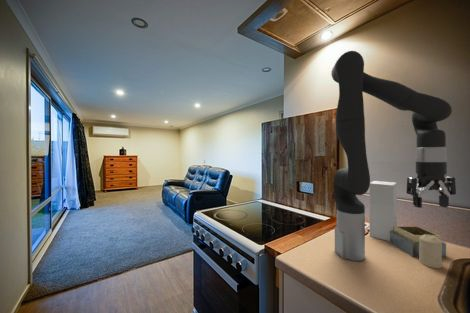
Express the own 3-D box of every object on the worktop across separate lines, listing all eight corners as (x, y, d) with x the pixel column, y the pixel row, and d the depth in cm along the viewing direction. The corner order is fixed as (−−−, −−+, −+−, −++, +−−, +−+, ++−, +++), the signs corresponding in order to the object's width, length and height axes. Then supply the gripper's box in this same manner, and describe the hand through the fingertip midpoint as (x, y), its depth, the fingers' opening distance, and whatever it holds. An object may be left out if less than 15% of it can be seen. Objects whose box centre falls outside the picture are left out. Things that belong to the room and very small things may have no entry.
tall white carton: (393, 242, 82) (393, 185, 82) (369, 236, 89) (369, 182, 88) (397, 236, 88) (397, 182, 88) (373, 230, 95) (373, 180, 94)
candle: (446, 269, 63) (446, 239, 63) (427, 267, 65) (427, 238, 64) (433, 260, 69) (433, 232, 69) (415, 258, 70) (415, 231, 70)
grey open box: (412, 256, 71) (412, 236, 71) (389, 242, 82) (389, 225, 82) (446, 256, 71) (446, 236, 71) (418, 242, 82) (418, 225, 82)
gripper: (419, 161, 62) (419, 210, 63) (464, 160, 62) (464, 210, 62) (400, 160, 70) (400, 204, 70) (440, 159, 69) (440, 203, 70)
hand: (430, 207), depth 66 cm, fingers open, 8 cm apart
